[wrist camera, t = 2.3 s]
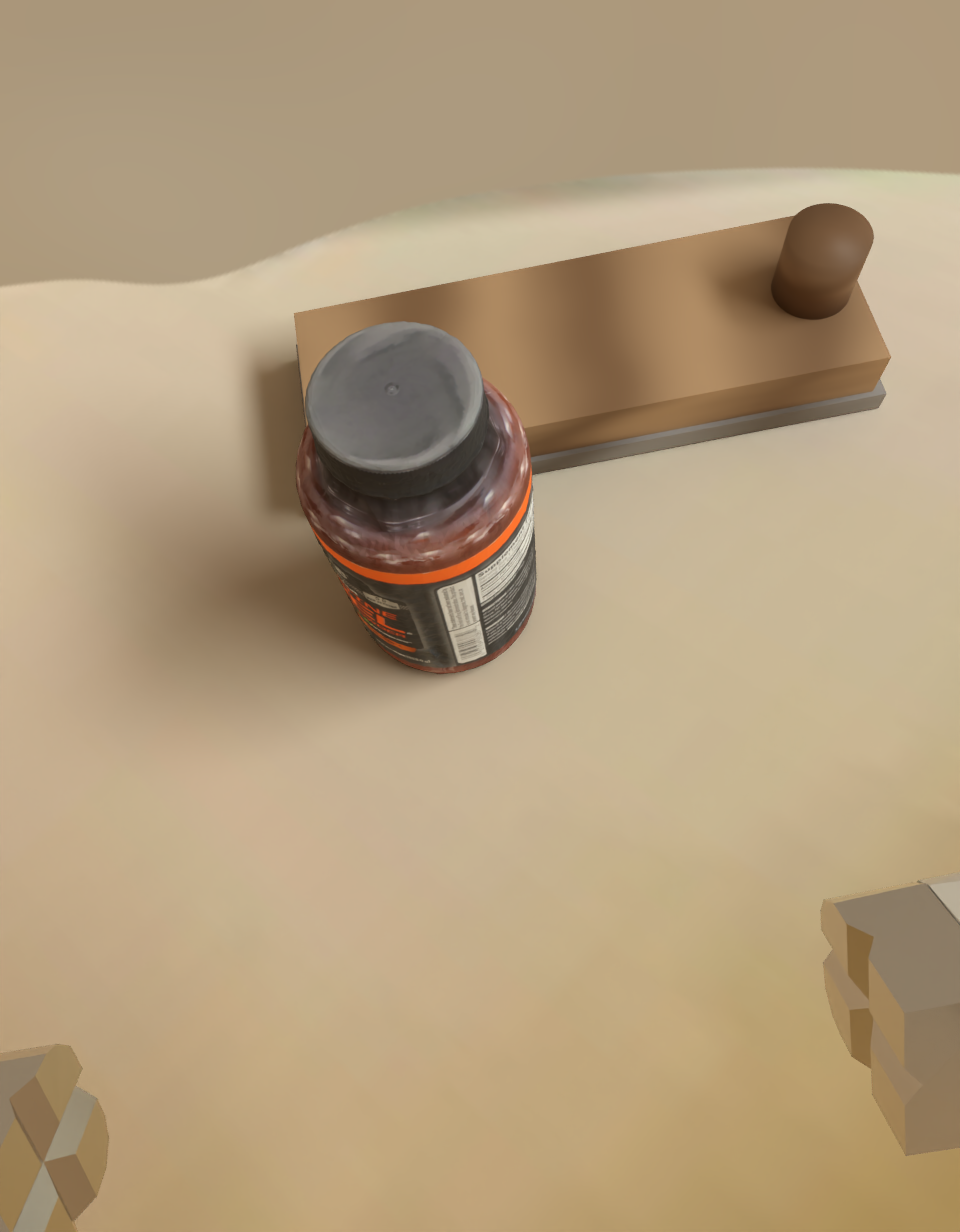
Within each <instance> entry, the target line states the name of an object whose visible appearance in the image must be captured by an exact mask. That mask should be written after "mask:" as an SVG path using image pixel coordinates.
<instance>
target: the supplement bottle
mask: <svg viewBox="0 0 960 1232" xmlns="http://www.w3.org/2000/svg"><path fill="white" fill-rule="evenodd" d="M305 412H306V418H307V422H308V425H307V427H306V428H305V431H304V433H303V436H302V439H301V443H300V446H299V448H298V454H297V462H296V485H297V490H298V494H299V498H300V502H301V506H302V508H303V511H304V513H305V515H306V517H307V519H308V521H309V523H310V525H311V527H312V529H313V531H314V534H315V536H316V538H317V540H318V542H319V544H320V545H321V547H322V548H323V551H324V553H325V554H326V556H327V558H328V560H329V561H330V563H331V565H332V567H333V569H334V571H335V572H336V574H337V576H338V578H339V580H340V582H341V584H342V586H343V587H344V589H345V591H346V593H347V595H348V597H349V599H350V601H351V602H352V604H353V606H354V608H355V610H356V613H357V614H358V616H359V617H360V619H361V621H362V622H363V624H364V625H365V628H366V630H367V631H368V632H369V634H370V636H371V637H372V638H373V639H374V640H375V641H376V642H377V643H378V645H379V646H380V647H381V648H382V649H383V650H384V651H385V652H387V653H388V654H389V655H391V656H392V657H394V658H395V659H397V660H398V661H400V662H402V663H404V664H406V665H408V666H410V667H413V668H416V669H419V670H423V671H429V672H434V673H437V674H443V673H456V672H461V671H465V670H468V669H472V668H476V667H478V666H481V665H483V664H485V663H487V662H489V661H491V660H493V659H495V658H497V657H498V656H499V655H500V654H502V653H503V652H504V651H506V650H507V649H508V648H509V647H510V646H511V645H512V644H513V643H514V641H515V640H516V639H517V638H518V637H519V635H520V634H521V632H522V631H523V629H524V628H525V626H526V624H527V622H528V620H529V617H530V615H531V612H532V608H533V605H534V599H535V595H536V557H535V555H536V551H535V534H534V511H533V484H532V471H531V456H530V449H529V444H528V440H527V436H526V432H525V429H524V427H523V424H522V422H521V419H520V418H519V416H518V414H517V412H516V410H515V408H514V407H513V406H512V404H511V403H510V402H509V400H508V399H507V398H506V397H505V395H503V394H502V393H501V392H500V391H499V390H498V389H497V388H496V387H495V386H494V385H493V384H492V383H490V382H489V381H487V380H486V379H485V378H483V377H482V375H481V371H480V369H479V366H478V364H477V362H476V360H475V359H474V357H473V356H472V354H471V352H470V351H469V350H468V349H467V348H466V347H465V346H464V345H463V343H462V342H461V341H459V340H458V339H457V338H455V337H453V336H451V335H450V334H448V333H447V332H445V331H443V330H441V329H439V328H436V327H434V326H431V325H428V324H420V323H416V322H405V321H401V322H392V323H383V324H379V325H374V326H370V327H367V328H365V329H363V330H360V331H358V332H356V333H353V334H351V335H349V336H347V337H346V338H345V339H344V340H342V341H341V342H339V343H338V344H337V345H335V346H334V347H333V348H332V349H331V350H330V351H329V352H327V353H326V355H325V356H324V357H323V358H322V359H321V360H320V362H319V363H318V365H317V367H316V368H315V370H314V372H313V373H312V375H311V378H310V381H309V383H308V386H307V389H306V396H305Z"/></svg>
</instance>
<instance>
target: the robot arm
mask: <svg viewBox="0 0 960 1232" xmlns="http://www.w3.org/2000/svg"><path fill="white" fill-rule="evenodd" d="M821 930H822V932H823V934H824V935H825V937H826V939H827V940H828V942H829V944H830V946H831V947H832V951H831V952H830V954H829V955H828V956H827V958H826V959H825V961H824V962H823V968H824V979H825V989H826V993H827V997H828V1000H829V1004H830V1008H831V1012H832V1016H833V1018H834V1020H835V1023H836V1025H837V1028H838V1030H839V1033H840V1035H841V1037H842V1039H843V1041H844V1043H845V1045H846V1047H847V1049H848V1051H849V1052H850V1054H851V1056H852V1057H853V1058H855V1059H856V1060H858V1061H859V1062H861V1063H863V1064H864V1065H866V1066H867V1067H869V1068H871V1076H872V1095H873V1097H874V1099H875V1101H876V1103H877V1104H878V1106H879V1108H880V1110H881V1112H882V1114H883V1115H884V1117H885V1119H886V1121H887V1123H888V1124H889V1126H890V1128H891V1130H892V1132H893V1134H894V1135H895V1137H896V1139H897V1141H898V1143H899V1144H900V1146H901V1148H902V1150H903V1152H904V1154H905V1155H906V1156H908V1155H915V1154H921V1153H928V1152H934V1151H941V1150H948V1149H954V1148H960V872H957V873H952V874H948V875H943V876H938V877H933V878H928V879H923V880H918V881H917V883H916V882H911V883H906V884H901V885H896V886H891V887H886V888H880V889H875V890H870V891H865V892H860V893H855V894H850V895H845V896H840V897H835V898H830V899H825V900H823V904H822V907H821ZM81 1071H82V1066H81V1065H80V1063H79V1061H78V1059H77V1057H76V1055H75V1054H74V1052H73V1050H72V1048H71V1046H67V1045H61V1044H54V1045H48V1046H42V1047H36V1048H30V1049H24V1050H17V1051H11V1052H5V1053H0V1232H78V1230H77V1228H76V1225H75V1222H74V1221H75V1220H76V1219H77V1217H78V1216H79V1215H80V1214H81V1213H82V1212H83V1211H84V1210H85V1209H86V1208H87V1207H88V1205H89V1204H90V1203H91V1202H92V1201H93V1200H94V1199H95V1198H96V1197H97V1194H98V1191H99V1188H100V1185H101V1182H102V1179H103V1176H104V1173H105V1170H106V1164H107V1153H108V1141H109V1136H108V1130H107V1125H106V1119H105V1115H104V1112H103V1110H102V1108H101V1106H100V1104H99V1102H98V1099H97V1098H96V1097H94V1096H92V1095H90V1094H89V1093H87V1092H85V1091H84V1090H82V1089H80V1088H79V1087H77V1086H76V1083H77V1081H78V1078H79V1076H80V1073H81Z"/></svg>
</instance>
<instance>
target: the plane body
mask: <svg viewBox="0 0 960 1232" xmlns="http://www.w3.org/2000/svg"><path fill="white" fill-rule="evenodd" d="M873 239H874V235H873V230H872V227H871V225H870V223H869V222H868V221H867V219H866V218H865V217H864V216H863V215H862V214H860V213H859V212H857V211H856V210H854V209H852V208H850V207H847V206H843V205H839V204H830V203H826V204H817V205H813V206H810V207H807V208H805V209H803V210H802V211H800V212H799V213H798V214H796V215H795V216H790V217H785V218H780V219H775V220H770V221H765V222H760V223H755V224H749V225H744V226H739V227H734V228H729V229H724V230H719V231H714V232H708V233H703V234H698V235H693V236H688V237H683V238H678V239H673V240H667V241H662V242H657V243H652V244H647V245H642V246H637V247H632V248H626V249H621V250H616V251H611V252H606V253H601V254H596V255H591V256H585V257H580V258H575V259H570V260H565V261H560V262H555V263H550V264H544V265H539V266H534V267H529V268H524V269H519V270H514V271H509V272H503V273H498V274H493V275H488V276H483V277H478V278H473V279H468V280H462V281H457V282H452V283H447V284H442V285H437V286H432V287H427V288H421V289H416V290H411V291H406V292H401V293H396V294H391V295H386V296H380V297H375V298H370V299H365V300H360V301H355V302H350V303H345V304H339V305H334V306H329V307H324V308H319V309H314V310H309V311H304V312H298V313H294V318H295V327H296V336H297V345H296V347H297V356H298V365H299V374H300V383H301V391H302V400H303V409H304V418H305V427H307V425H308V422H307V418H306V412H305V396H306V389H307V386H308V383H309V381H310V378H311V375H312V373H313V372H314V370H315V368H316V367H317V365H318V363H319V362H320V360H321V359H322V358H323V357H324V356H325V355H326V353H327V352H329V351H330V350H331V349H332V348H333V347H334V346H335V345H337V344H338V343H339V342H341V341H342V340H344V339H345V338H346V337H347V336H349V335H351V334H353V333H356V332H358V331H360V330H363V329H365V328H367V327H370V326H374V325H379V324H383V323H392V322H401V321H405V322H416V323H420V324H428V325H431V326H434V327H436V328H439V329H441V330H443V331H445V332H447V333H448V334H450V335H451V336H453V337H455V338H457V339H458V340H459V341H461V342H462V343H463V345H464V346H465V347H466V348H467V349H468V350H469V351H470V352H471V354H472V356H473V357H474V359H475V360H476V362H477V364H478V366H479V369H480V371H481V375H482V377H483V378H485V379H486V380H487V381H489V382H490V383H492V384H493V385H494V386H495V387H496V388H497V389H498V390H499V391H500V392H501V393H502V394H503V395H505V397H506V398H507V399H508V400H509V402H510V403H511V404H512V406H513V407H514V408H515V410H516V412H517V414H518V416H519V418H520V419H521V422H522V424H523V427H524V429H525V432H526V436H527V440H528V444H529V449H530V456H531V471H532V474H538V473H543V472H548V471H553V470H558V469H564V468H569V467H574V466H579V465H584V464H589V463H595V462H600V461H605V460H610V459H615V458H621V457H626V456H631V455H636V454H641V453H646V452H652V451H657V450H662V449H667V448H672V447H678V446H683V445H688V444H693V443H698V442H703V441H709V440H714V439H719V438H724V437H729V436H735V435H740V434H745V433H750V432H755V431H760V430H766V429H771V428H776V427H781V426H786V425H792V424H797V423H802V422H807V421H812V420H817V419H823V418H828V417H833V416H838V415H843V414H849V413H854V412H859V411H864V410H869V409H874V408H879V406H880V404H881V403H882V401H883V399H884V397H885V395H886V391H885V389H884V387H883V384H882V382H881V380H880V377H881V375H882V373H883V371H884V370H885V368H886V366H887V364H888V362H889V360H890V358H891V356H890V354H889V351H888V349H887V347H886V345H885V342H884V340H883V338H882V336H881V333H880V331H879V329H878V327H877V324H876V322H875V320H874V318H873V315H872V313H871V311H870V309H869V306H868V304H867V302H866V299H865V297H864V295H863V293H862V290H861V288H860V286H859V284H858V281H857V279H858V277H859V275H860V272H861V270H862V268H863V265H864V263H865V261H866V258H867V256H868V254H869V251H870V249H871V246H872V244H873Z"/></svg>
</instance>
